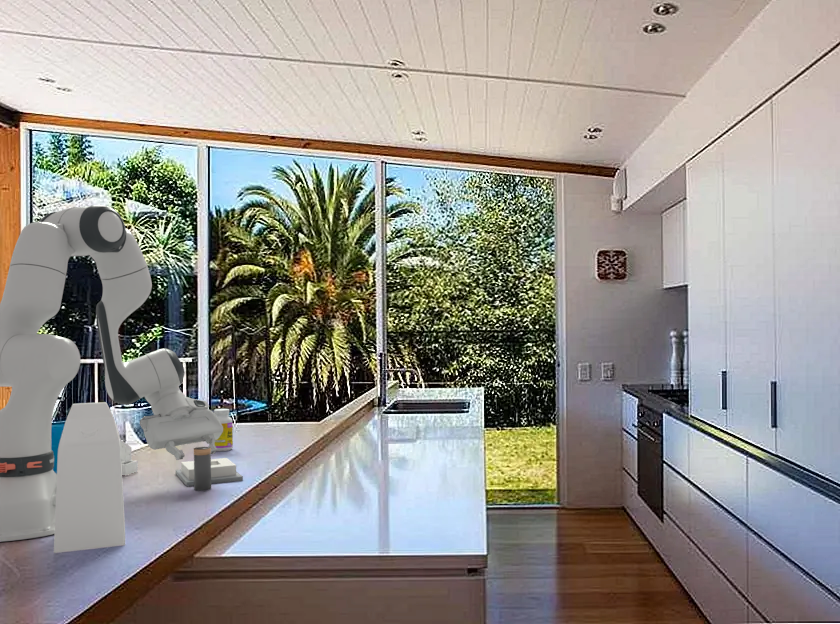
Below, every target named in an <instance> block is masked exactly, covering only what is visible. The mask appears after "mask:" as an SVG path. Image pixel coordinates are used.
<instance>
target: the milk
mask: <svg viewBox="0 0 840 624" xmlns="http://www.w3.org/2000/svg"><path fill="white" fill-rule="evenodd" d="M113 415H114V414H113V412H112V411H111V408H110V407H109V405H108V403H107V402H106V401H104V402H100V401H99V402H86V403H85V402H81V403H80V402H79V403H72V405H71V407H70V410H69V411H68V415H67V417H66V419H65V422H64V425H63V428H62V429H63V430H62V431H61V435H60V439H59V443H58V448H57V461H56V462H57V463H56V474H57V485H56V510H55V534H53V535H54V539H53V554H59V553H67V552H69V553H70V552H76V551H85V550H94V549H95V550H96V549H103V548H104V549H105V548H111V547H112V548H113V547H120V546H121V547H122V546H126V522H125V521H126V520H125V505H124V487H123V486H124V485H123V476H122V464H121V446H120V440H121V437H120V432H119V429H118V425H117V422H116V420H115V416H113Z"/></svg>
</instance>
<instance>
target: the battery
mask: <svg viewBox="0 0 840 624" xmlns="http://www.w3.org/2000/svg"><path fill="white" fill-rule="evenodd" d="M211 459H212V454H211V447H209V446H196V447H193V461H194V486H193V487H194V491H197V492H199V491H209V490H212V484H211Z"/></svg>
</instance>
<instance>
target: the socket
mask: <svg viewBox="0 0 840 624" xmlns="http://www.w3.org/2000/svg"><path fill="white" fill-rule="evenodd" d="M175 474H176V476H177V477H178V478H179V479H180V480H181V482H182V483H184V485H185V486H186V487H192V486H193V487H194V460H191V461H189V460H188V461H181V462H180V469H175ZM243 480H244V476H243V475H242V474H240V473H239V472H238V471H237V465H236V463H234V462H233V461H231V460H230V459H229V458H227V457H224V458H223V457H222V458H211V485H212V484H220V483H221V484H222V483H230V482H231V483H232V482H239V481H240V482H241V481H243Z"/></svg>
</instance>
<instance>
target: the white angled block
mask: <svg viewBox="0 0 840 624" xmlns="http://www.w3.org/2000/svg"><path fill="white" fill-rule="evenodd" d="M120 446H121V464H122V475H128V474H131V473H133V474H135V473H134V472H136V473H138V472H139V469H138V468H139V467H138V466H139V465H138V460H133V458H132V456H133V455H132V449H133V448H132V447H131V446H130V445H129V444H127V443H126V442H125V441H123V440H122V439H120ZM137 471H138V472H137ZM131 475H132V474H131ZM128 476H129V475H128Z"/></svg>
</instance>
